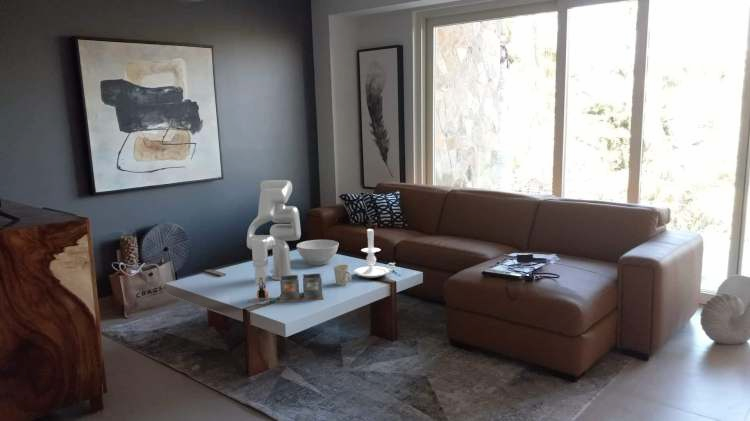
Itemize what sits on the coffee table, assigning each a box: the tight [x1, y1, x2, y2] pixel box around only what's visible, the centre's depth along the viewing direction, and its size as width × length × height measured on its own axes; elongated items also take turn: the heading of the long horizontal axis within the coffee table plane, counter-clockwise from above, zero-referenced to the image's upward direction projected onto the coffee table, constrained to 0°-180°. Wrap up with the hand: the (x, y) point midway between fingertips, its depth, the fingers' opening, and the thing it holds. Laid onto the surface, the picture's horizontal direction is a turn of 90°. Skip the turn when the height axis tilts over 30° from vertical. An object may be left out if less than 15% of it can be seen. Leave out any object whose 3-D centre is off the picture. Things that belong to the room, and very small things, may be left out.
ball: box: [256, 288, 269, 300], centre depth 303 cm, size 6×6×6 cm
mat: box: [247, 295, 279, 305], centre depth 303 cm, size 11×11×1 cm
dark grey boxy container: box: [279, 272, 324, 303], centre depth 305 cm, size 22×11×11 cm, turn 99°
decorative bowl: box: [296, 239, 339, 266], centre depth 376 cm, size 27×27×12 cm
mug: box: [333, 263, 352, 286], centre depth 327 cm, size 8×13×10 cm, turn 44°
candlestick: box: [353, 228, 396, 279], centre depth 340 cm, size 21×25×28 cm
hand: (262, 295), depth 303 cm, fingers open, 9 cm apart
